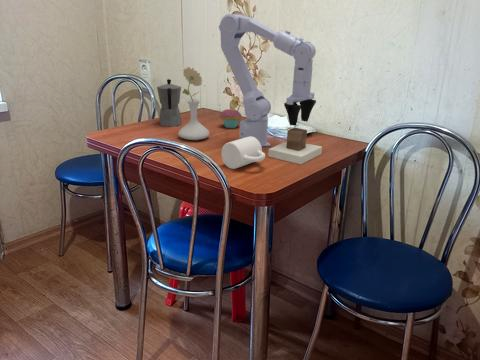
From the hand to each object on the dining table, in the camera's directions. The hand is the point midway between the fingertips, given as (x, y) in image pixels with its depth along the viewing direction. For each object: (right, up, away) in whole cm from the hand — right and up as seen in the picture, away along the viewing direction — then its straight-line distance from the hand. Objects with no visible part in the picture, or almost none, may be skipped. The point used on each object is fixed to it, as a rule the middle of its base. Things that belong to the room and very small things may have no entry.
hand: (298, 123), depth 141 cm
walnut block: (-1, -9, -3) cm, 9 cm away
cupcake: (-23, +2, +30) cm, 38 cm away
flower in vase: (-37, -4, +14) cm, 40 cm away
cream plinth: (-1, -11, -2) cm, 11 cm away
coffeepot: (-48, +3, +31) cm, 57 cm away
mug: (-18, -15, -13) cm, 27 cm away
